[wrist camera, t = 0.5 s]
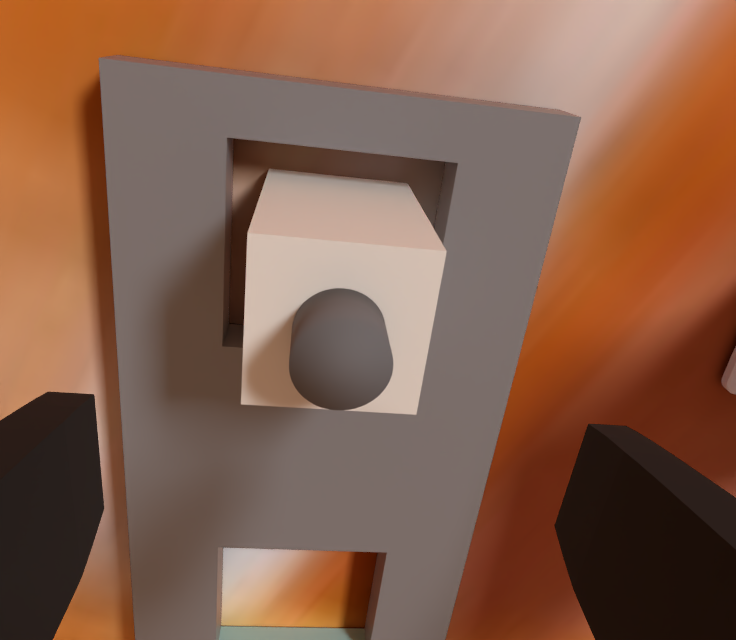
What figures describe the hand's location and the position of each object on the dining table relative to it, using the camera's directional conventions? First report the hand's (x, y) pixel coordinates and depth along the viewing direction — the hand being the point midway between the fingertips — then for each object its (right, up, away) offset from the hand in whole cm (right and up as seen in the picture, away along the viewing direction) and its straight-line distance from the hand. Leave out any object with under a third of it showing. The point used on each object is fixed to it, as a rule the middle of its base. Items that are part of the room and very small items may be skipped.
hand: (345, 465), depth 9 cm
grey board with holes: (-2, -2, +12) cm, 12 cm away
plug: (-1, +5, +9) cm, 10 cm away
